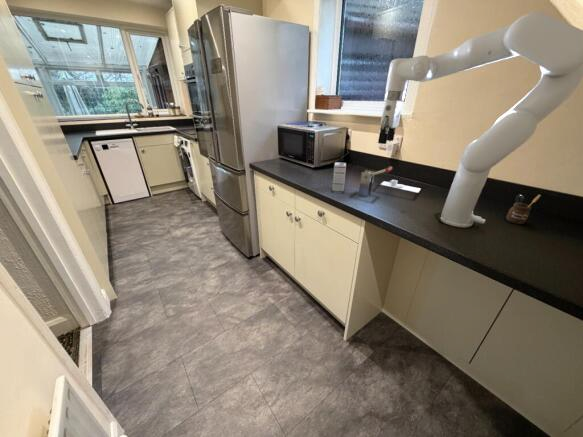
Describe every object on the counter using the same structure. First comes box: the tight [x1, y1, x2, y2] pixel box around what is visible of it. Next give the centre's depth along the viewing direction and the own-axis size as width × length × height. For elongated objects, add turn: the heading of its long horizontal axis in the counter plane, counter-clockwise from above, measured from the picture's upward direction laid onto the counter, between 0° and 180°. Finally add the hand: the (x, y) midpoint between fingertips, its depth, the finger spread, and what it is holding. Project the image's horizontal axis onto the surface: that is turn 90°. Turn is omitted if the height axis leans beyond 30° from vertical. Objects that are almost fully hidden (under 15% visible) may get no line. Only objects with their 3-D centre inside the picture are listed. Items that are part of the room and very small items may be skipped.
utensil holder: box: [505, 194, 542, 225], centre depth 92 cm, size 6×6×12 cm
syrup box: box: [332, 161, 347, 192], centre depth 118 cm, size 6×6×14 cm
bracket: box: [357, 169, 375, 198], centre depth 112 cm, size 11×9×13 cm
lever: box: [369, 166, 393, 177], centre depth 106 cm, size 12×5×2 cm, turn 53°
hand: (385, 141), depth 99 cm, fingers open, 9 cm apart
